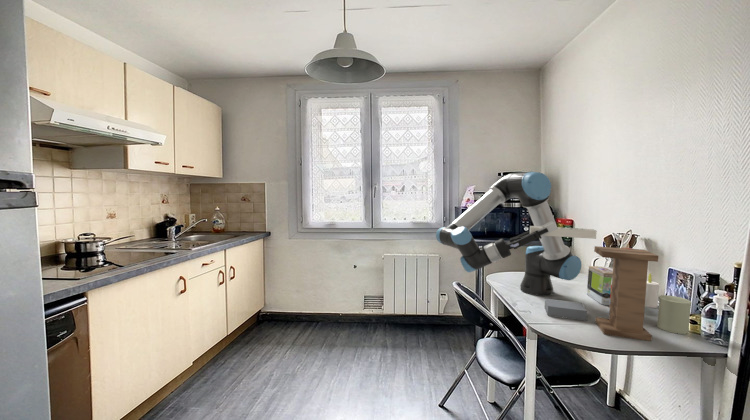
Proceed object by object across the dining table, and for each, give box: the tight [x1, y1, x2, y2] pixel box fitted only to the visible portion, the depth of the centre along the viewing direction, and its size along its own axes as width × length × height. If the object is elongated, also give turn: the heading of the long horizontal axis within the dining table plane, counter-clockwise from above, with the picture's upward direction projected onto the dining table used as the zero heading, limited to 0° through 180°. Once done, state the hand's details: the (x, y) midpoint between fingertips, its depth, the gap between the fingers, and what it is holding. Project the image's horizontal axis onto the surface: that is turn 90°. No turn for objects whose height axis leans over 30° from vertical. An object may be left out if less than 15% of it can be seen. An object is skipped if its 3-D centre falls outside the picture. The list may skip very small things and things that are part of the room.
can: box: [656, 294, 692, 335], centre depth 128 cm, size 9×9×12 cm
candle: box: [645, 272, 660, 309], centre depth 153 cm, size 6×6×15 cm
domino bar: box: [529, 225, 597, 240], centre depth 130 cm, size 4×22×3 cm, turn 70°
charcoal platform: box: [544, 298, 588, 322], centre depth 142 cm, size 10×14×4 cm
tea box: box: [586, 265, 613, 306], centre depth 159 cm, size 15×10×15 cm, turn 171°
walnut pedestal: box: [593, 245, 659, 342], centre depth 125 cm, size 12×16×30 cm
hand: (554, 224), depth 131 cm, fingers closed on domino bar, 4 cm apart
